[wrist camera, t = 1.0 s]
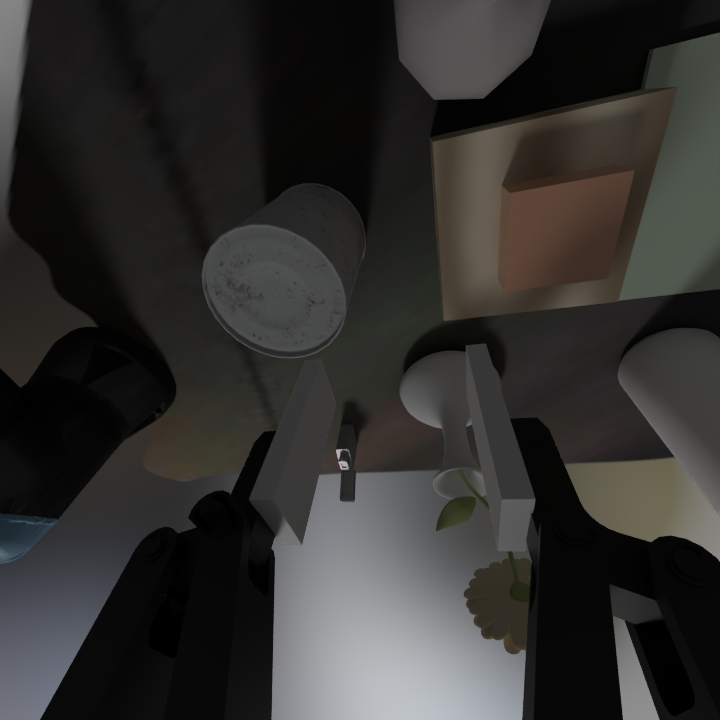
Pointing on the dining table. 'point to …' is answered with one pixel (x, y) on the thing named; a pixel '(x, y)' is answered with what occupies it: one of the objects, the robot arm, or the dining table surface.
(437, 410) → the flower in vase
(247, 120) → the dining table surface
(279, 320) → the white cylinder
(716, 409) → the alcohol
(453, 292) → the birch board
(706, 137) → the rubber mat
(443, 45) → the potion bottle
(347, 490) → the lighter
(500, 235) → the terracotta tile
